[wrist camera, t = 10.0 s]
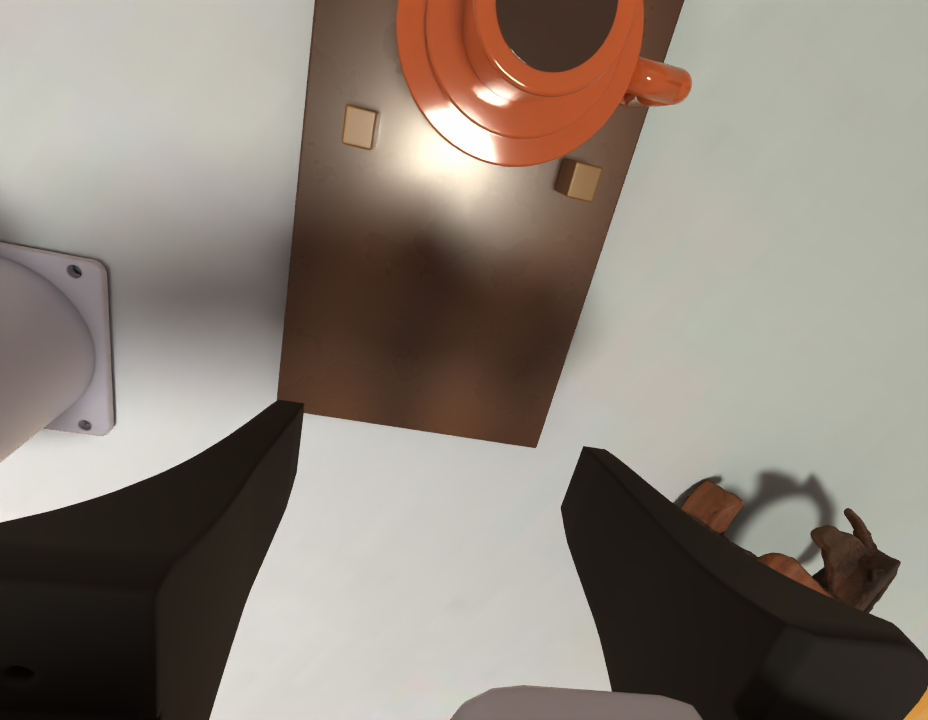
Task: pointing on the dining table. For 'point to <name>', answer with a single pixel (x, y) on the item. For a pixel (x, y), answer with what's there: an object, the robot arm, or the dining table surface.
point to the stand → (436, 247)
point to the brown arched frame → (845, 555)
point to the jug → (527, 72)
